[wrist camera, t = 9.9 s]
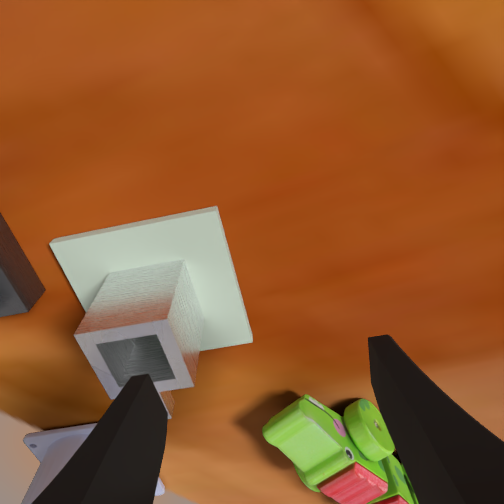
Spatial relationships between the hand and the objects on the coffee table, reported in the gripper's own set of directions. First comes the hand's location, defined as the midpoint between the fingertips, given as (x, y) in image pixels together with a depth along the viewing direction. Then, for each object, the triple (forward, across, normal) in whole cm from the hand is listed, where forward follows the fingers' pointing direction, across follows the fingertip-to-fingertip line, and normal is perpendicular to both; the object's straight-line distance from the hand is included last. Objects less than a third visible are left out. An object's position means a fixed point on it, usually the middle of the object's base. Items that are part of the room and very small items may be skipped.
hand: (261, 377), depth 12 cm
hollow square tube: (+9, +6, +2) cm, 11 cm away
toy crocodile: (+10, -5, +20) cm, 22 cm away
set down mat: (+9, +6, +2) cm, 11 cm away
